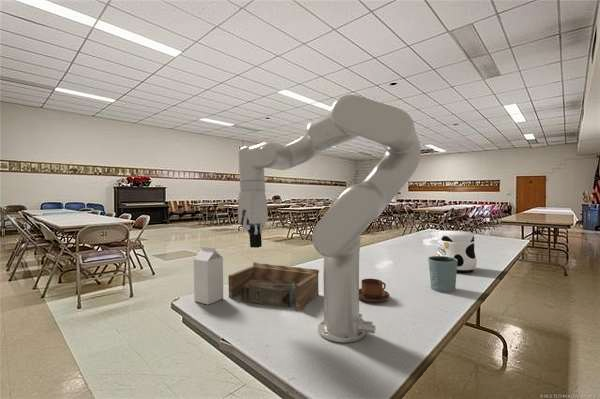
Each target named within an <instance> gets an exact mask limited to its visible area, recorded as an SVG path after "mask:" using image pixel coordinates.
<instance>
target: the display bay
mask: <svg viewBox="0 0 600 399" xmlns="http://www.w3.org/2000/svg"><path fill="white" fill-rule="evenodd" d="M252 264H253V265H251V266H248V267H246V268H243V269H241V270H238V271H236V272H233V273H231V274H228V277H227V278H228V298H234V297H236V296H238V295H241V286H242V285H244V284H245V283H246V282H248V281H250V280H261V281H271V282H280V283H288V284H297V285H296V302H295V310H297V311H301V310H302V309H304V308H305V307H306V306H307V305H308V304H309V303H310V302H312V301H313V300H315V299H316V297H318V296H319V292H320V290H319V273H320V270H319V269H318V268H316V269H314V268H307V267H300V266H292V265H291V266H288V265H281V264H271V263H262V262H255V261H254V262H253V263H252Z"/></svg>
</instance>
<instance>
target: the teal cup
mask: <svg viewBox="0 0 600 399" xmlns="http://www.w3.org/2000/svg"><path fill="white" fill-rule="evenodd" d="M427 259H428V261H427V262H428V266H429V267H428V268H429V278H430V279H429V281H430V289H431V290H432V291H433V292H437V293H441V294H442V293H443V294H453V293H455V292H456V287H457V286H456V285H457V284H456V283H457V262H458V260H457V259H455V258H452V257H446V256H436V255H433V256H429V257H428V258H427Z"/></svg>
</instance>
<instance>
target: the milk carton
mask: <svg viewBox="0 0 600 399" xmlns="http://www.w3.org/2000/svg"><path fill="white" fill-rule="evenodd" d="M200 247H201V248H200V250H199V251H198V253H197V254H196V255H195V256H194V257H193V290H194V291H193V294H194V295H193V297H194V299H193V300H194V302H197V303H200V304H204V305H207V306H208V305H211V304H213V303H216V302H218V301H220V300H222V299H224V258H223V256H222V255H220V253H218V251H217V250H216V247H213V246H205V245H202V246H200Z"/></svg>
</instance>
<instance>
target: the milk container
mask: <svg viewBox="0 0 600 399" xmlns="http://www.w3.org/2000/svg"><path fill="white" fill-rule="evenodd" d="M474 234H475V233H474V232H471V231H466V230H465V231H464V230H439V231H438V234H437V239H438V240H437V251H436V255H435V256H446V257H452V258H455V259H457V260H458V262H457V272H459V273H464V272H465V273H466V272H472V271H474V270H475V269H476V267H477V262H478V261H477V256H476V252H475V235H474Z"/></svg>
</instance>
